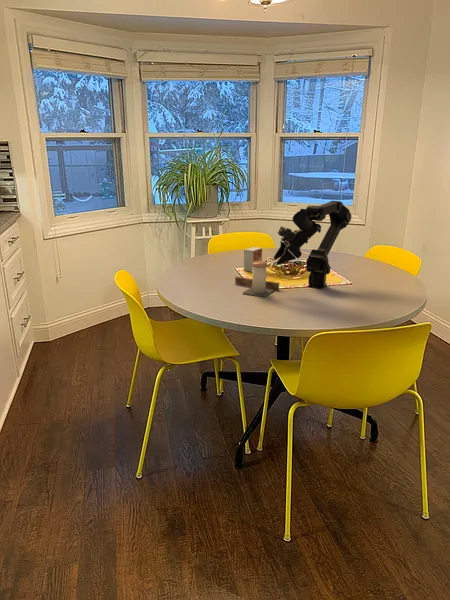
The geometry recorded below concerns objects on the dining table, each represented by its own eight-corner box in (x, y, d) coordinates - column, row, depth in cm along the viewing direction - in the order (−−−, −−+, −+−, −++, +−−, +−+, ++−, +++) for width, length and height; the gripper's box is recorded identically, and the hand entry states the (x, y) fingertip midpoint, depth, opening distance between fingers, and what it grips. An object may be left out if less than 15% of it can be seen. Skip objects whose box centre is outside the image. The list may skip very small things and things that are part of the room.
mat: (274, 290, 191) (274, 289, 190) (265, 297, 182) (265, 296, 182) (252, 287, 195) (252, 286, 195) (242, 293, 187) (242, 292, 186)
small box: (252, 272, 218) (253, 250, 215) (243, 270, 222) (243, 249, 218) (262, 269, 224) (262, 248, 221) (252, 267, 228) (253, 246, 224)
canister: (268, 290, 190) (269, 262, 186) (262, 294, 185) (263, 265, 181) (255, 288, 192) (255, 260, 188) (249, 292, 187) (249, 263, 183)
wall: (278, 289, 192) (279, 282, 191) (277, 290, 191) (278, 283, 190) (236, 283, 201) (236, 276, 200) (235, 283, 200) (235, 277, 199)
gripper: (286, 216, 189) (259, 242, 192) (294, 223, 171) (264, 252, 174) (304, 235, 191) (277, 260, 195) (314, 244, 174) (284, 272, 177)
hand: (275, 261), depth 185 cm, fingers open, 9 cm apart
